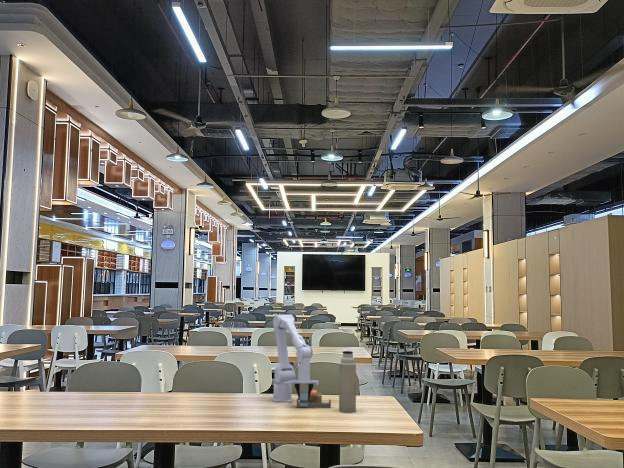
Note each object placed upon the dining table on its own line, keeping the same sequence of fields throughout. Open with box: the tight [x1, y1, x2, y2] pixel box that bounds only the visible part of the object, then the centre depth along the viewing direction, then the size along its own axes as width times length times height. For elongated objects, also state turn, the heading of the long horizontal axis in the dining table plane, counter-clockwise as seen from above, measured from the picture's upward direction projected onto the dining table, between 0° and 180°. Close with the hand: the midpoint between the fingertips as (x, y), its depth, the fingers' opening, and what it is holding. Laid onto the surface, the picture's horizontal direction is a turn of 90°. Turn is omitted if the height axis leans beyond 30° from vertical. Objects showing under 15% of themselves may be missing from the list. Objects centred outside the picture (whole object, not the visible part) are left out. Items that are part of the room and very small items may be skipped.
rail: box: [296, 398, 332, 409], centre depth 276 cm, size 17×3×4 cm, turn 90°
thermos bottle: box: [338, 350, 357, 414], centre depth 269 cm, size 8×8×28 cm
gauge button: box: [311, 389, 318, 395], centre depth 287 cm, size 3×3×4 cm
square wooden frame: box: [308, 392, 323, 402], centre depth 287 cm, size 8×8×4 cm
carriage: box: [299, 390, 308, 406], centre depth 276 cm, size 4×5×6 cm
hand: (303, 399), depth 276 cm, fingers closed on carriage, 4 cm apart
